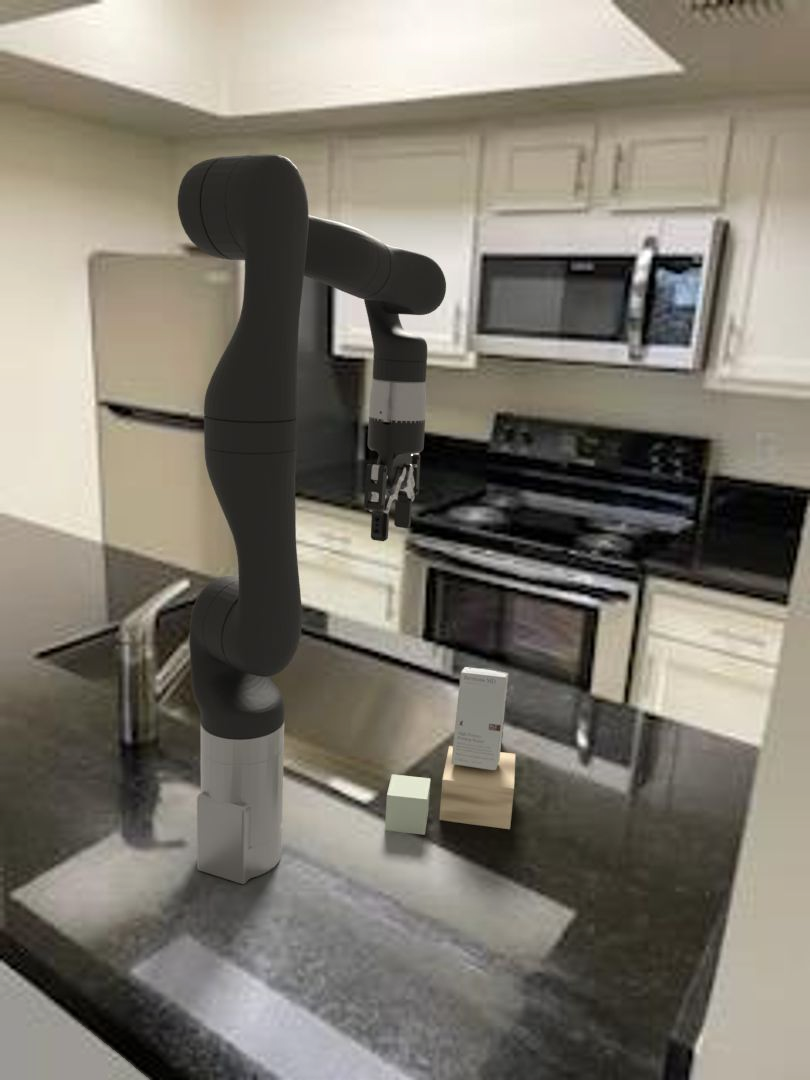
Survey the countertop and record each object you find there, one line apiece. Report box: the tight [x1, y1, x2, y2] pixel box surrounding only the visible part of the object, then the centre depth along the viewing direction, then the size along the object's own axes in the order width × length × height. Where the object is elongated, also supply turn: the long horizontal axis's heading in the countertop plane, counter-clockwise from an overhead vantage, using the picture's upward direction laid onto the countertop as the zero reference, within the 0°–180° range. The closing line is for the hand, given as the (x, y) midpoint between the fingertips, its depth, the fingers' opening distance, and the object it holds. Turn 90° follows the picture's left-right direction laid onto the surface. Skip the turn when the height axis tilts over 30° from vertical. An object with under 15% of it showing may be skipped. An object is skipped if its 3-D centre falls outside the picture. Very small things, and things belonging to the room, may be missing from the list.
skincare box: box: [451, 666, 510, 770], centre depth 109 cm, size 6×4×12 cm
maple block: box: [438, 745, 516, 830], centre depth 110 cm, size 9×9×6 cm
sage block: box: [384, 773, 431, 836], centre depth 106 cm, size 5×5×5 cm
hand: (391, 533), depth 115 cm, fingers open, 8 cm apart
